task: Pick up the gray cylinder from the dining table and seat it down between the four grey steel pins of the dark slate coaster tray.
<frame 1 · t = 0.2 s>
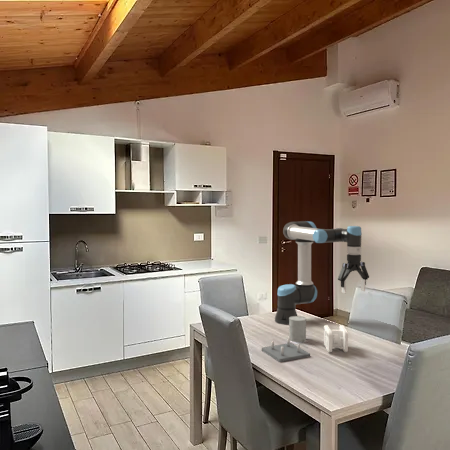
hand: (353, 291, 241), 28 cm above the table, fingers open, 13 cm apart
gray cylinder: (297, 339, 245), on the table
cable organizer: (335, 350, 229), on the table
pin tray: (285, 353, 223), on the table
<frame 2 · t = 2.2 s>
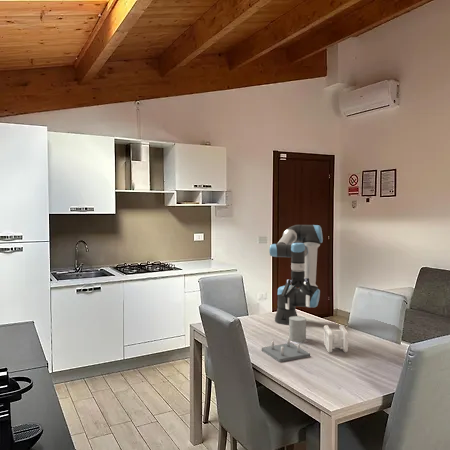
hand: (297, 307, 244), 18 cm above the table, fingers open, 13 cm apart
nothing on the table moved.
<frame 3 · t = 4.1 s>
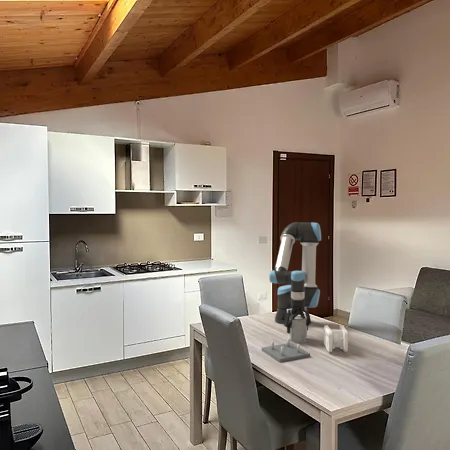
hand: (297, 337, 245), 1 cm above the table, fingers closed on gray cylinder, 9 cm apart
gray cylinder: (297, 339, 245), on the table, touching gripper
everything else where it was.
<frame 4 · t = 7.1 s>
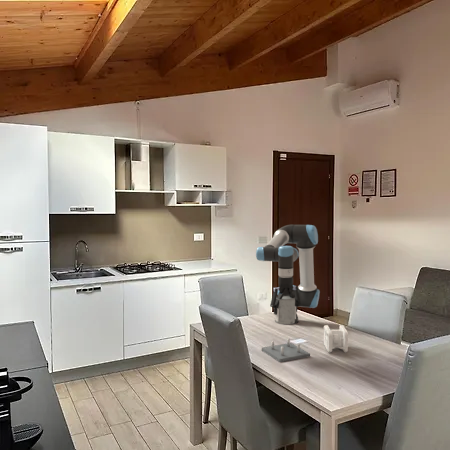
hand: (285, 319, 222), 18 cm above the table, fingers closed on gray cylinder, 9 cm apart
gray cylinder: (285, 322, 223), point 16 cm above the table, touching gripper
everything else where it was.
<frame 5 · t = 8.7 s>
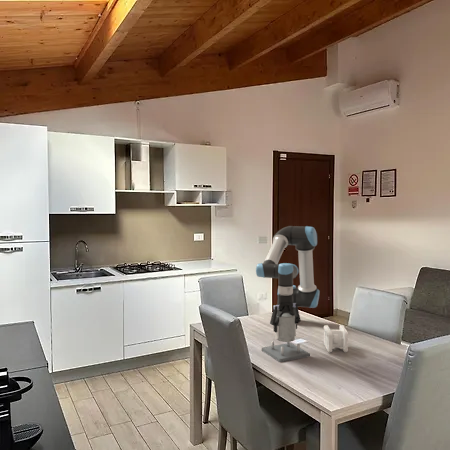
hand: (285, 336, 223), 9 cm above the table, fingers closed on gray cylinder, 9 cm apart
gray cylinder: (285, 339, 223), point 7 cm above the table, touching gripper
everything else where it was.
when the fingers open (5 cm above the table, at t = 10.1 s): gray cylinder drops 2 cm, resting on pin tray.
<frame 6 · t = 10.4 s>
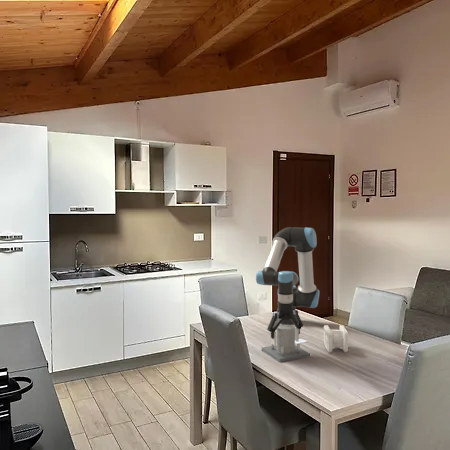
hand: (285, 342, 223), 6 cm above the table, fingers open, 13 cm apart
gray cylinder: (285, 350, 223), point 1 cm above the table, touching pin tray
everything else where it was.
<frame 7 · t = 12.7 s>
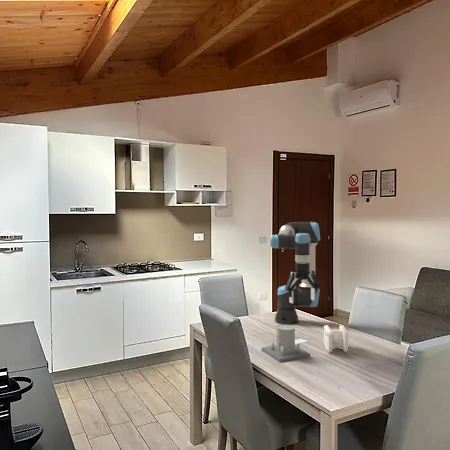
hand: (302, 301, 233), 25 cm above the table, fingers open, 13 cm apart
nothing on the table moved.
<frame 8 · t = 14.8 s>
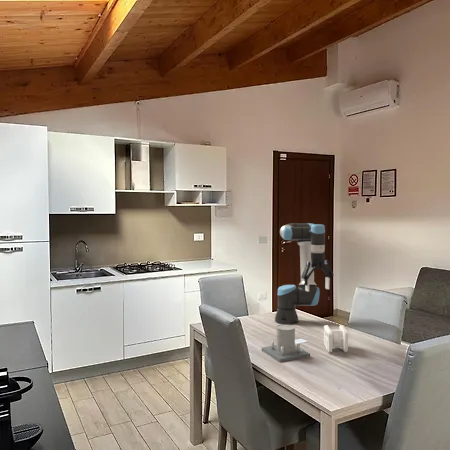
hand: (317, 290, 242), 29 cm above the table, fingers open, 13 cm apart
nothing on the table moved.
at the end: gray cylinder 0.1 cm off-centre on the pin tray, point 1.3 cm above the pin tray's base; gray cylinder tilted 0°; the gripper is holding nothing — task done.
